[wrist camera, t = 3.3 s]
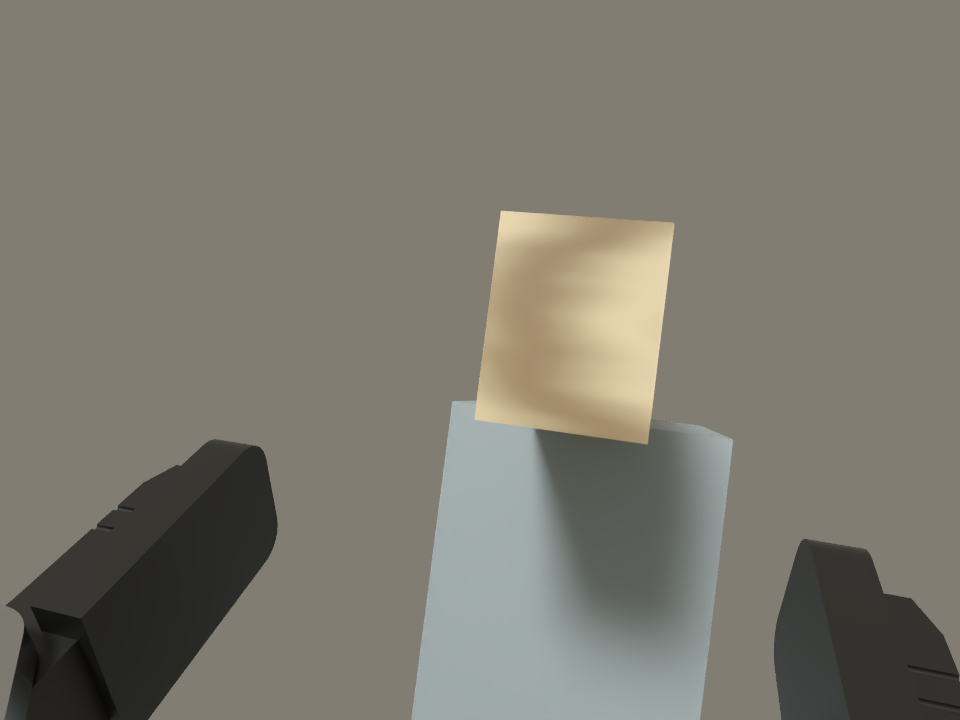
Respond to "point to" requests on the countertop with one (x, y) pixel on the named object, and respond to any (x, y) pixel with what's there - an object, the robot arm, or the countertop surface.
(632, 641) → the slate stand
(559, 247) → the maple bar
